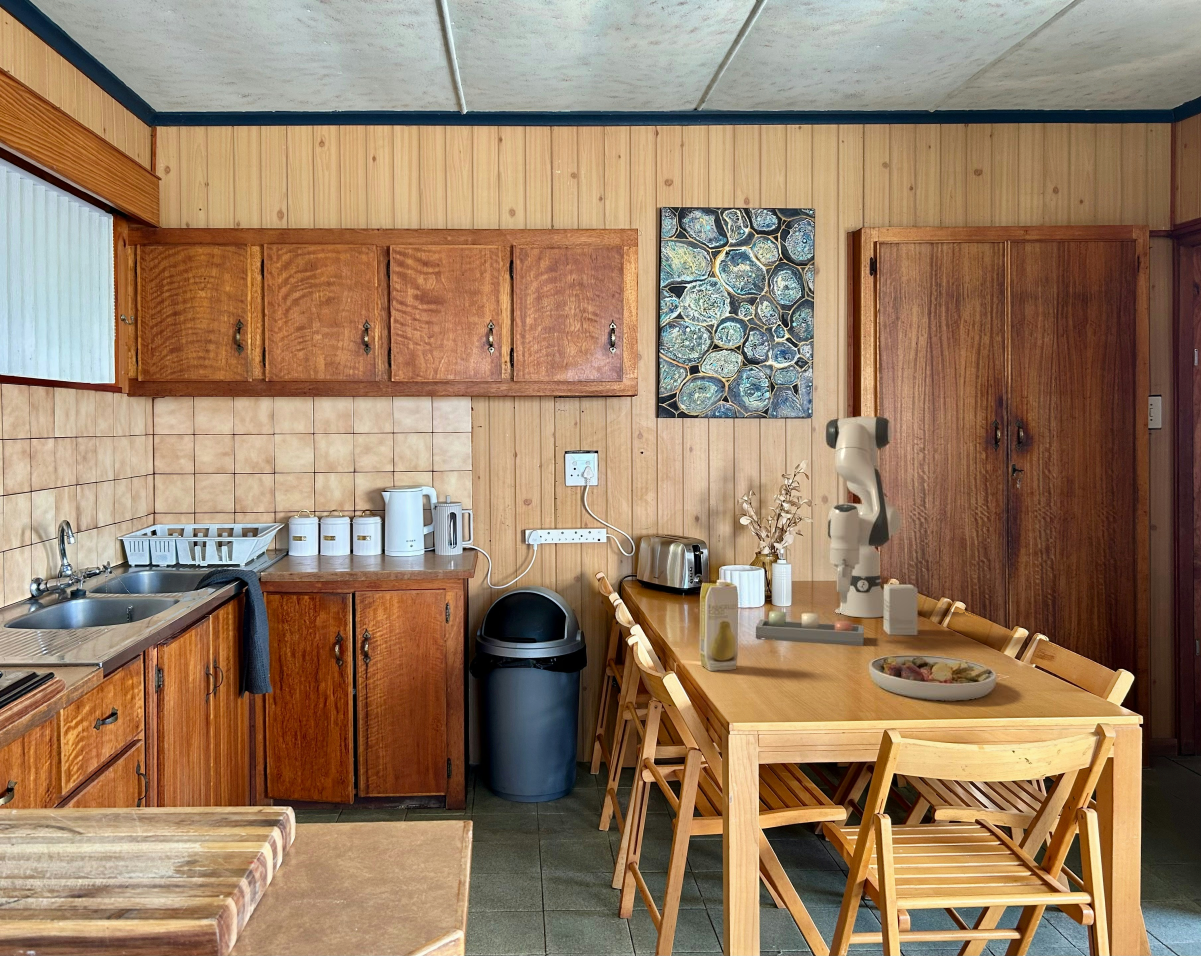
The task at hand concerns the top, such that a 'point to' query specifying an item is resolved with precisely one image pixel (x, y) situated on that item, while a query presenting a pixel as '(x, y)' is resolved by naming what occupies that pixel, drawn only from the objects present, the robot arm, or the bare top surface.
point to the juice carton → (719, 625)
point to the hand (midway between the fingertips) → (843, 602)
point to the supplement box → (900, 609)
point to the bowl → (932, 677)
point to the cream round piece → (810, 621)
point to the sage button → (777, 619)
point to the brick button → (843, 626)
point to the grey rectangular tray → (811, 633)
